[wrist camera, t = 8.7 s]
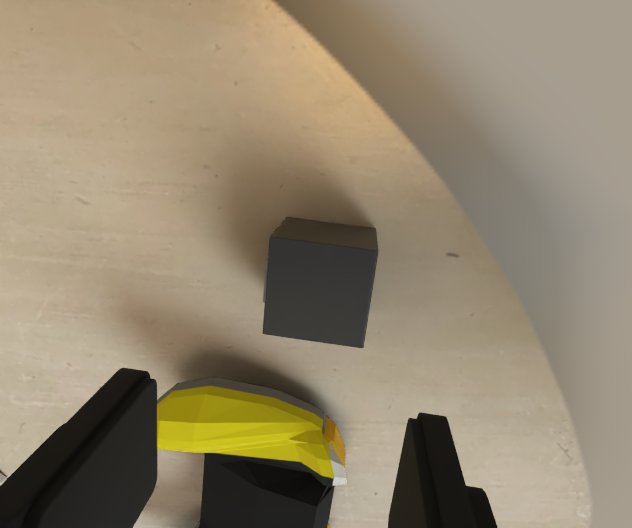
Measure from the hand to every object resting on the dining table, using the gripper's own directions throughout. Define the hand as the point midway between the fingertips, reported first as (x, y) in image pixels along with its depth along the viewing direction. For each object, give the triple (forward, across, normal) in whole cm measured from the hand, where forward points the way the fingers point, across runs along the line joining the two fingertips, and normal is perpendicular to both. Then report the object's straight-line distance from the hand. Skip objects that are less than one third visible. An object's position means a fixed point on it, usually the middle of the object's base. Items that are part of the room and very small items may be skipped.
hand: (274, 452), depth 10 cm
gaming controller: (+14, +3, +13) cm, 19 cm away
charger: (+13, 0, 0) cm, 13 cm away
